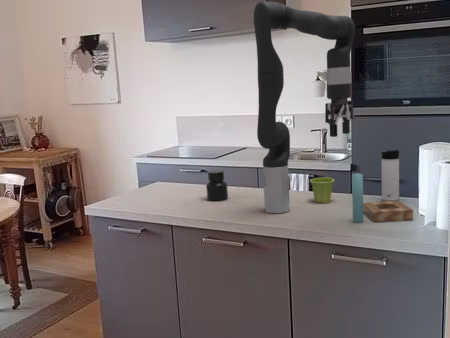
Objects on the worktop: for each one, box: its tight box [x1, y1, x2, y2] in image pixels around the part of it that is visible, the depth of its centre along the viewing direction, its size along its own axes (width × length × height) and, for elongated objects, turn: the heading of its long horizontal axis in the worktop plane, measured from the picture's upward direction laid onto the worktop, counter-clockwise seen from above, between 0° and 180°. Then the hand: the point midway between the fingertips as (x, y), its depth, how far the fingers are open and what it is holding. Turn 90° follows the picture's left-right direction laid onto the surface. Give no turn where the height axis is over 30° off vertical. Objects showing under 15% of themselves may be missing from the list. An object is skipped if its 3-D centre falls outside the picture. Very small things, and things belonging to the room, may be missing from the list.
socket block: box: [363, 200, 414, 223], centre depth 168 cm, size 13×13×4 cm
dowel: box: [351, 173, 364, 224], centre depth 163 cm, size 3×3×16 cm
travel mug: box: [381, 149, 400, 202], centre depth 186 cm, size 6×7×20 cm
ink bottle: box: [205, 169, 229, 202], centre depth 208 cm, size 10×9×12 cm
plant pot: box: [309, 177, 335, 204], centre depth 193 cm, size 9×9×9 cm
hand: (340, 135), depth 153 cm, fingers open, 8 cm apart
